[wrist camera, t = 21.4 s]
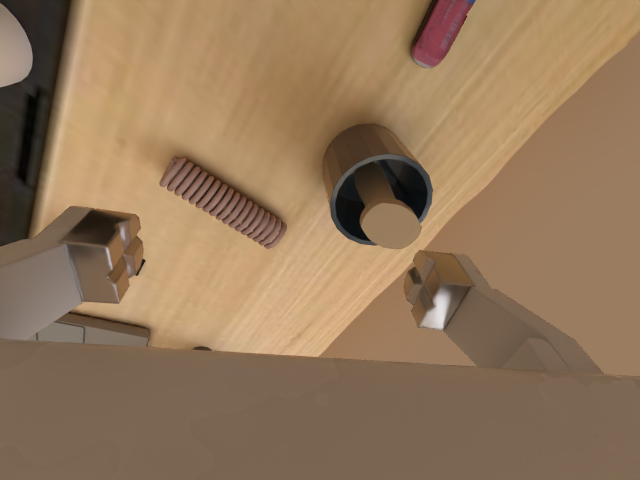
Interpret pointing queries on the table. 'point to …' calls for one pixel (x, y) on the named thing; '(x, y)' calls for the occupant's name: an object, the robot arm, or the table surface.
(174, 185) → the coil
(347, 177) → the open cylindrical bucket
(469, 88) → the table surface
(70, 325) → the laptop
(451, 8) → the eraser
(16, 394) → the robot arm
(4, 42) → the cylinder with rectangular tab
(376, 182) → the handle
